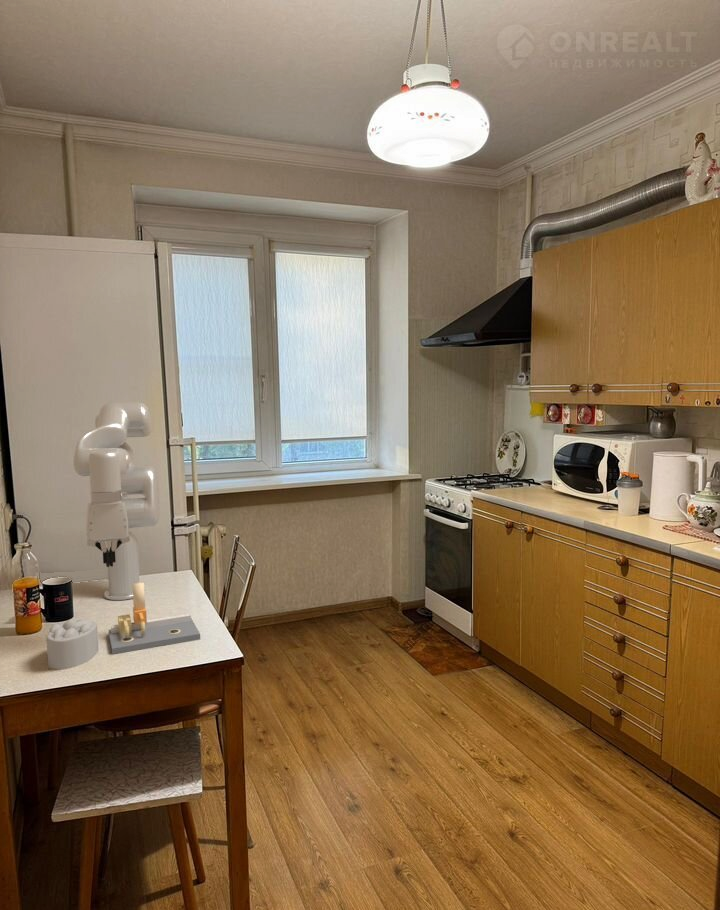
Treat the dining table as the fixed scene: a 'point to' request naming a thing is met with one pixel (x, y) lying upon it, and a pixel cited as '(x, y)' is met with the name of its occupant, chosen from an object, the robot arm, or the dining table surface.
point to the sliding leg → (139, 606)
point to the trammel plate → (151, 633)
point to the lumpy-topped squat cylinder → (71, 643)
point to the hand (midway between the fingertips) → (109, 565)
